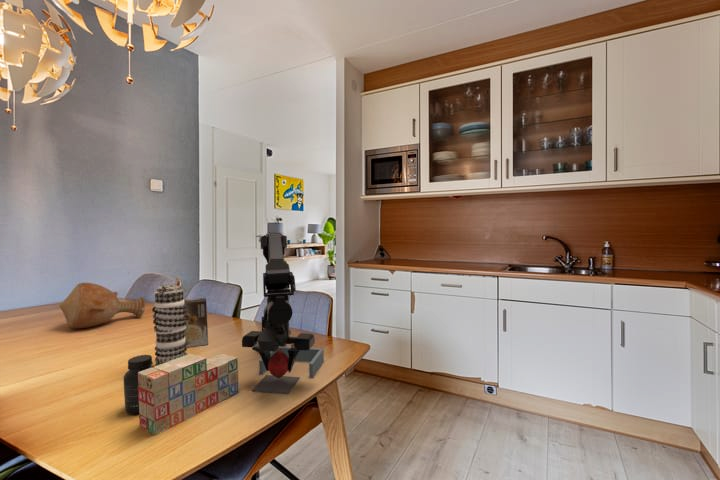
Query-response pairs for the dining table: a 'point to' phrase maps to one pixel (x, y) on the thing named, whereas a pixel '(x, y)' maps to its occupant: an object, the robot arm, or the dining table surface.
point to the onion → (278, 364)
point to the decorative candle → (169, 323)
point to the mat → (276, 384)
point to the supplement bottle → (134, 381)
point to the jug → (96, 306)
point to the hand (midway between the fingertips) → (279, 371)
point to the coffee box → (196, 322)
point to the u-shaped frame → (301, 359)
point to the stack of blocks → (184, 389)
